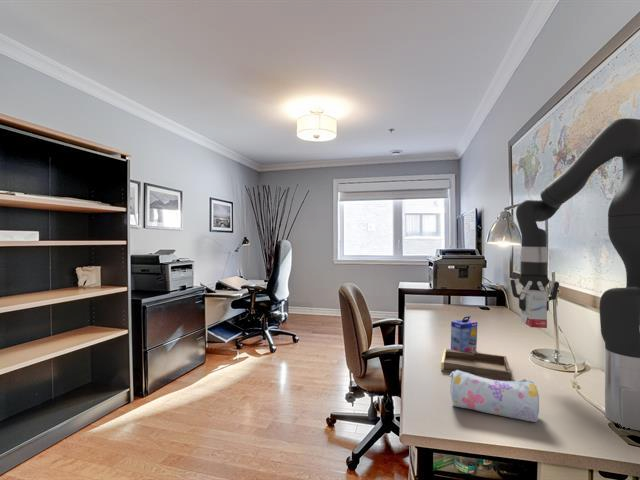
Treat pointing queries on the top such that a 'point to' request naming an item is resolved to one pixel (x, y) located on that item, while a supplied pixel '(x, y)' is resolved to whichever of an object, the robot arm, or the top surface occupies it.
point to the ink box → (535, 309)
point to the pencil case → (495, 396)
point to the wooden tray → (476, 364)
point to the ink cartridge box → (464, 335)
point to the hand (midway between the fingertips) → (533, 311)
